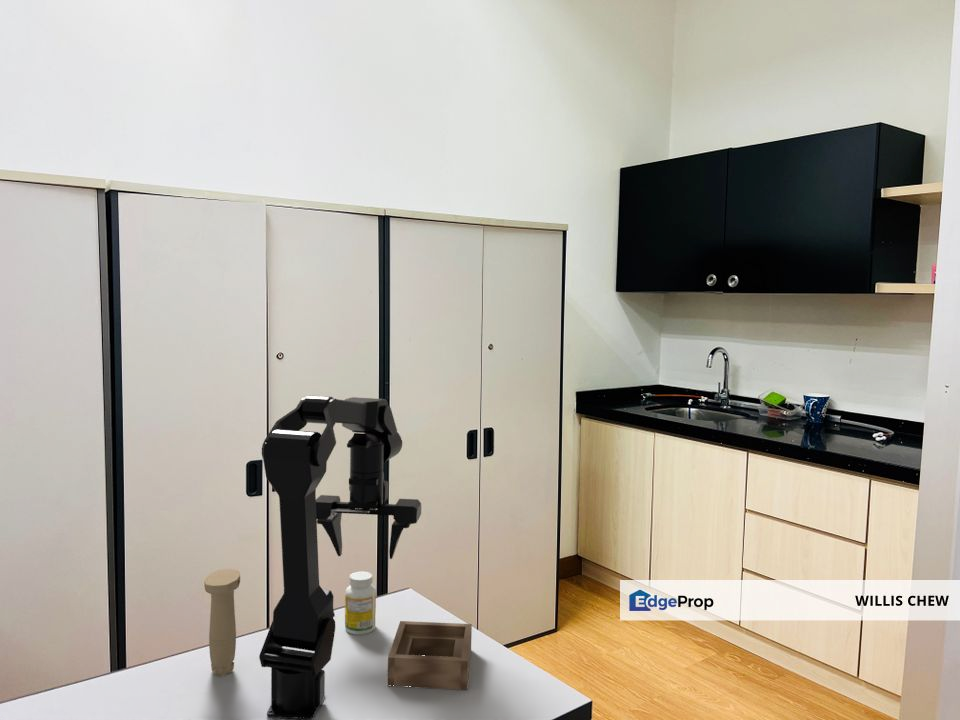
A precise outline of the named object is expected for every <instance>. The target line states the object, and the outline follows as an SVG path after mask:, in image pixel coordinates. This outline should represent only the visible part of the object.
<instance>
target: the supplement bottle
mask: <svg viewBox="0 0 960 720" xmlns="http://www.w3.org/2000/svg"><path fill="white" fill-rule="evenodd" d="M348 578H349V579H348V581H349V585H348V586H347V587H346V589H345V591H344V592H345V593H344V594H345V597H344V599H345V600H344V602H345V603H344V627H345V631H346V632H347V633H349V634H350V635H355V634H356V635H357V636H358V635H359V636H360V634H362V635H366V633H367V634H369V633H371V632H373V631H374V630H375V628H376V613H377V612H376V608H377V607H376V605H377V604H376V602H377V599H376V598H377V590H376V589H377V588H376V587H375V586H374V585H373V580H374V579H373V574H372V573H371V572H368V571H355V572H353V573H351V574H349V577H348Z"/></svg>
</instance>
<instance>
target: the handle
mask: <svg viewBox="0 0 960 720" xmlns="http://www.w3.org/2000/svg"><path fill="white" fill-rule="evenodd" d="M240 583H241V572H240V570H238V569H232V568H231V569H230V568H229V569H228V568H226V569H225V568H224V569H218V570H215V571H213V572H211V573H209V574H208V575H207V576H206V577H205V578H204V585H203V586H204V590H205V592H206V593H207V594H209V595H210V615H209V617H210V618H209V633H208V643H209V646H208V647H209V658H210V665H211V672H213V675H214V676H223V677H224V676H227V674H229V673H231V672H233V670H234V669H235V668H234V667H235V662H234V661H235V657H236V647H237V628H236V627H237V626H236V614H235V612H236V610H235V591H236V590H237V589H239V587H240Z"/></svg>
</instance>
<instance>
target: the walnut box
mask: <svg viewBox="0 0 960 720" xmlns="http://www.w3.org/2000/svg"><path fill="white" fill-rule="evenodd" d="M399 621H400V622H399V624H398V627H397V629H396V632H395V636H394V638H393V641H392V644H391V647H390V650H389V653H388V656H387V685H391V686H390V687H393V685H394V686H408V687H407V688H415V687H420V688H419V689H435V690H436V689H439V690H442V689H444V690H460V691H468V684H469V683H468V682H469V673H470V664H471V655H472V631H473V629H472V628H473V627H472V626H473V625H472V623H458V622H457V623H456V622H437V621H436V622H432V621H431V622H430V621H412V620H411V621H409V620H399ZM422 655H425V656H422ZM409 686H411V687H409ZM421 687H422V688H421Z"/></svg>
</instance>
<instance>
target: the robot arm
mask: <svg viewBox="0 0 960 720" xmlns="http://www.w3.org/2000/svg"><path fill="white" fill-rule="evenodd" d="M392 411H393V410H392V408H391V406H390V405H389V402H388V401H387V400H386V399H385V398H373V397H372V398H371V397H356V396H355V397H353V396H352V397H348V398H346V399H344V400H343V399H337V398H334V397H333V396H326V395H325V396H323V395H321V396H320V395H307V396H303V397H302V398H300V400H299V402H298V404H297V406H296V407H295V408H294V409H292V410H291V411H288V413H286V414H285V415H284V416H282V417H280V418H279V419H278V420H277V421H275V423H274V425H273V426H272V428H271V429H270V431H269V432H268V433H267V436H266V437H265V439H264V441H263V442H262V444H261V445H262V446H261V457H262V461H263V467H264V472H265V478H266V480H267V481H268V483H269V484H270V485H271V487H272V488H273V489H274V492H276V493H277V495H278V499H279V500H278V501H279V502H278V503H279V517H280V518H279V519H280V539H281V540H280V541H281V557H282V558H281V560H282V561H281V563H282V577H283V578H282V579H283V581H282V583H283V594H282V596H281V597H280V599H279V601H278V602H277V604H276V606H275V607H274V609H273V612H272V613H273V614H272V622H271V624H270V627H269V629H268V632H267V634H266V638H265V640H264V641H263V645H262V648H261V651H260V653H259V657H258V658H259V662H260V667H261V668H270V670H271V673H270V676H271V679H270V681H271V682H270V683H271V684H270V687H271V688H270V692H271V694H270V695H271V697H270V698H271V699H270V703H271V704H270V705H269V708H268V710H267V711H266V716H267V717H268V718H284V719H285V718H287V719H304V720H305V719H306V720H309V719H310V720H311V719H313V718H314V717H315V714H316V712H317V710H318V708H320V707H321V705H322V702H323V701H324V698H325V695H326V694H325V692H326V691H325V690H326V689H325V686H326V685H325V684H326V683H325V680H326V672H325V670H324V668H325V666H326V665H327V664H328V663H329V662H330V661H331V660H332V653H333V652H332V651H333V646H334V640H335V633H336V621H335V619H334V617H335V616H336V615H335V610H334V597H335V596H334V594H333V592H332V590H327V589H323V588H322V586H321V584H320V575H319V574H320V572H319V571H320V570H319V569H320V568H319V549H318V548H319V547H318V545H319V544H318V543H319V542H318V525H321V526H322V527H323V529H324V531H325V533H326V534H327V535H328V537H329V539H330V541H331V544H332V546H333V548H334V550H335V553H336V555H337V556H338V557H341V556H342V555H343V539H342V537H343V536H342V527H341V526H342V525H341V522H342V514H350V515H352V514H353V515H354V514H355V515H356V514H357V515H375V516H393V519H394V521H393V523H392V524H391V528H390V530H391V531H390V539H389V541H390V542H389V550H388V552H389V559H390V560H392V559H393V557H394V555H395V552H396V550H397V547H398V543H399V540H400V538H401V535H402V532H403V530H404V529H409V528H410V526H411V525H413V524H414V525H415V524H417V523H418V521H419V519H420V517H421V515H422V503H421V501H420V500H419V499H415V498H413V499H412V498H399V499H398V500H397V501H396V503H395V504H394V503H393V504H392V503H383V502H386V501H387V500H388V499H389V498H388V497H389V486H390V483H389V481H387V480H385V473H384V463H385V462H387V461H388V460H390V459H392V458H395V457H396V456H397V455H398V454H399V453H400V451H401V450H402V448H403V439H402V436H401V435H400V434H399V432H398V428H397V426H396V422H395V418H394V415H393V412H392ZM307 424H319V425H321V424H323V425H326V426H325V428H324V430H323V431H322V433H320V432H318V431H308V430H302V429H304V428H305V427H307V426H306V425H307ZM336 424H341V425H342V427H343V428H345V429H347V430H349V431H352V433H353V435H352V437H351V438H350V439H349V440H348V441H347V443H346V447H347V448H348V449H350V451H349V458H350V459H349V461H350V462H349V478H348V490H349V501H348V502H347V501H341V497H340V495H329V494H320V495H319V496H318V497H317V498H316V490H317V488H318V486H319V485H320V483H321V481H322V479H323V478H324V476H325V475H326V472H327V464H328V461H329V459H330V456H331V454H332V452H333V450H334V448H335V446H336V444H337V439H336V434H335V430H334V427H335V425H336Z"/></svg>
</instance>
